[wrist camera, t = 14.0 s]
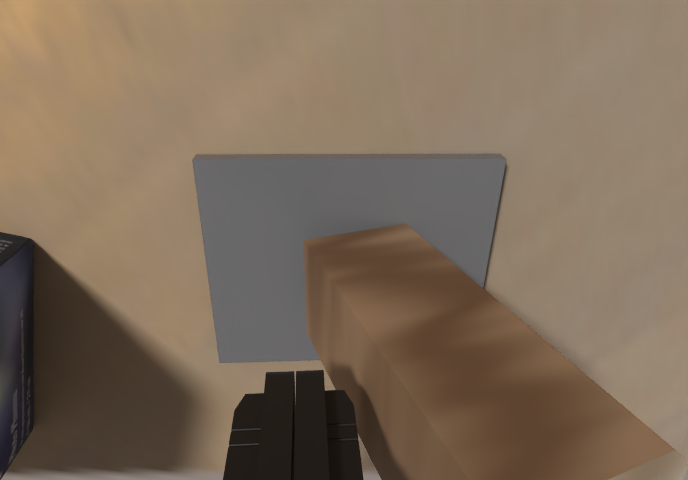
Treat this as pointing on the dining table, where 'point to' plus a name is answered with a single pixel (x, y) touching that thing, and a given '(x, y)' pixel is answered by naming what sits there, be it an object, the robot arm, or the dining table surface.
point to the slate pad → (325, 229)
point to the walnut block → (459, 373)
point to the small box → (15, 345)
